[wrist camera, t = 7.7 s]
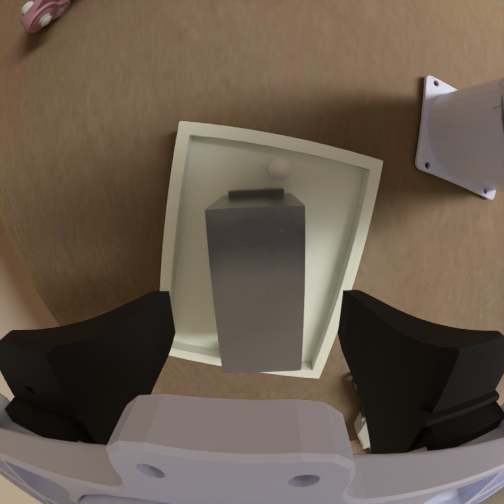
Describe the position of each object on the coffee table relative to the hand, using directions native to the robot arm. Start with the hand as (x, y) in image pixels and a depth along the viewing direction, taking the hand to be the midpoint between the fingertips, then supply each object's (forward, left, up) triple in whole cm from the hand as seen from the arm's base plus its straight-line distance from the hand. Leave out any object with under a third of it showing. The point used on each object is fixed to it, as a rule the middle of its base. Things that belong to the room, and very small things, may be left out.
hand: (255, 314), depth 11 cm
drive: (0, +1, -8) cm, 8 cm away
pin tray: (0, +1, -9) cm, 9 cm away
